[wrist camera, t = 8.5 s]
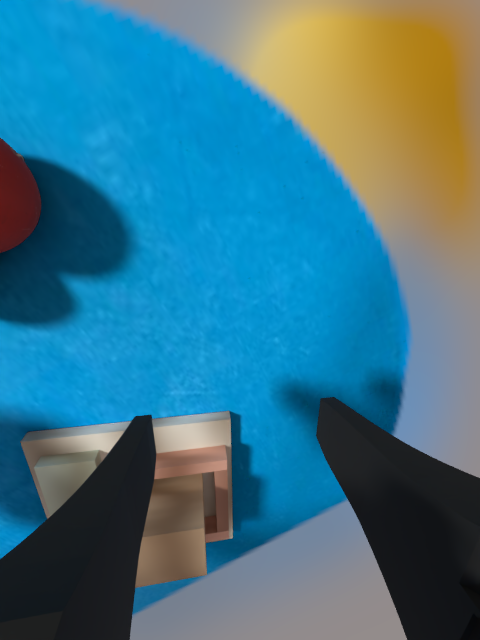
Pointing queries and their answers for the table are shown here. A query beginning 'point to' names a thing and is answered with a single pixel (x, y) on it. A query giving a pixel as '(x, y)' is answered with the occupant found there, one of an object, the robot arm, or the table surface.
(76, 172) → the table surface
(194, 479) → the walnut block
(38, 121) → the table surface
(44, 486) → the puzzle board
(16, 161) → the kendama
